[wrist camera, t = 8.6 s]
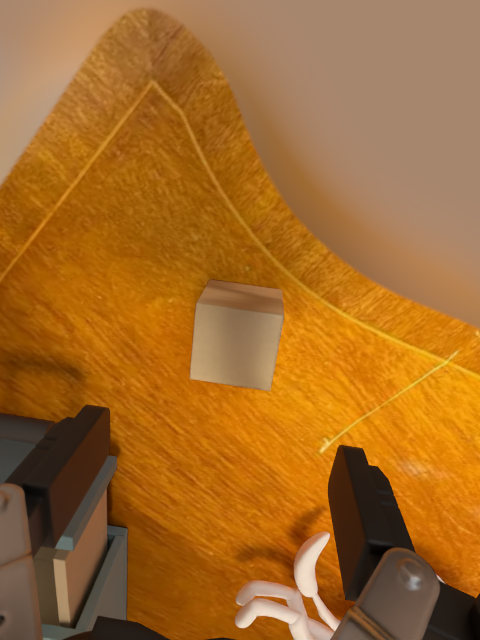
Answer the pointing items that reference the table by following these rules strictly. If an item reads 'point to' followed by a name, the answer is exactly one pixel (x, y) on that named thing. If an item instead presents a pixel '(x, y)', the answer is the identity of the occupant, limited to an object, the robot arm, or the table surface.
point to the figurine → (291, 597)
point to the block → (237, 334)
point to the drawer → (77, 540)
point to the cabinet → (102, 589)
